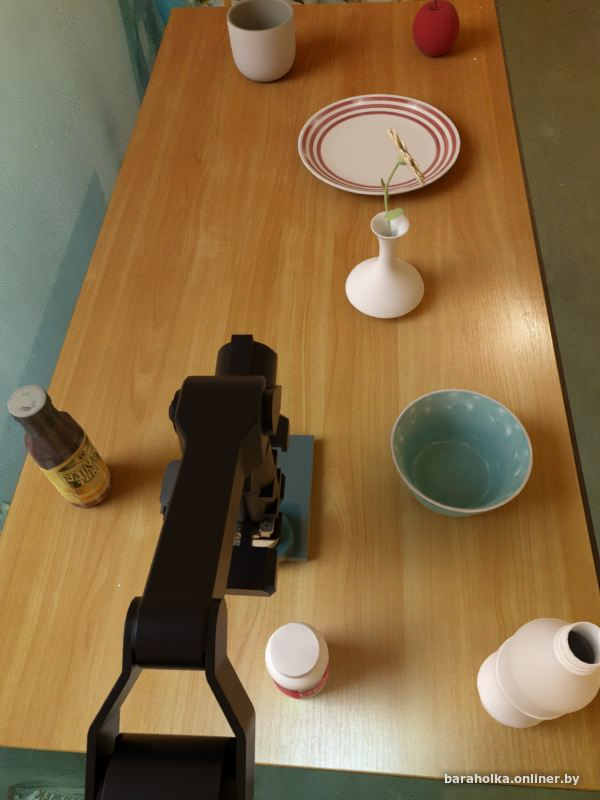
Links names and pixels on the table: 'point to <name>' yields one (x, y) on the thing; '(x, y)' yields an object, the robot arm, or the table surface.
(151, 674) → the table surface
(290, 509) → the teal rectangular base
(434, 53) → the apple
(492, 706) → the water bottle
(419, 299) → the flower in vase
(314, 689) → the pill bottle
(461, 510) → the bowl
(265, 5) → the planter
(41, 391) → the sauce bottle
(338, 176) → the dinner plate
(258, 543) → the beige round cap
